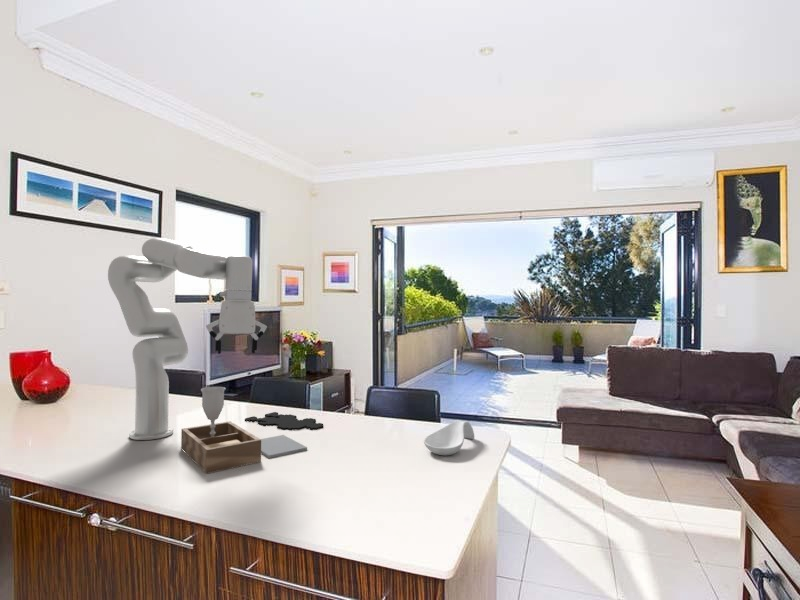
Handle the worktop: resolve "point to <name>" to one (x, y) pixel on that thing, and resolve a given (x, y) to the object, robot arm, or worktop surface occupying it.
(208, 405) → the chalice
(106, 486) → the worktop surface
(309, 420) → the black silhouette cutout
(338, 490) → the worktop surface
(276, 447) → the slate mat
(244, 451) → the walnut crate
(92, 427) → the worktop surface
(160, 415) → the robot arm
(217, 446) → the oak offcut top
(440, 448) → the spoon rest
